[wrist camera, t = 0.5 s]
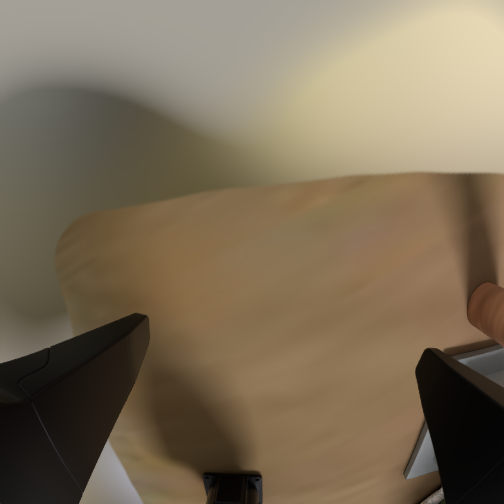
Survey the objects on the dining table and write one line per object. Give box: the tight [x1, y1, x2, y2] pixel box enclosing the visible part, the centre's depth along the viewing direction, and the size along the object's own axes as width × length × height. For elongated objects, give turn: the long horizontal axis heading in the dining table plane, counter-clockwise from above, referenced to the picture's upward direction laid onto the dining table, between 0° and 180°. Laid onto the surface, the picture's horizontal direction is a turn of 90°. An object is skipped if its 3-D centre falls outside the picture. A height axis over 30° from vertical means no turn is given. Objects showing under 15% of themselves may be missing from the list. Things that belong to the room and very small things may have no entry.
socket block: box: [404, 344, 504, 480], centre depth 23 cm, size 18×18×4 cm
